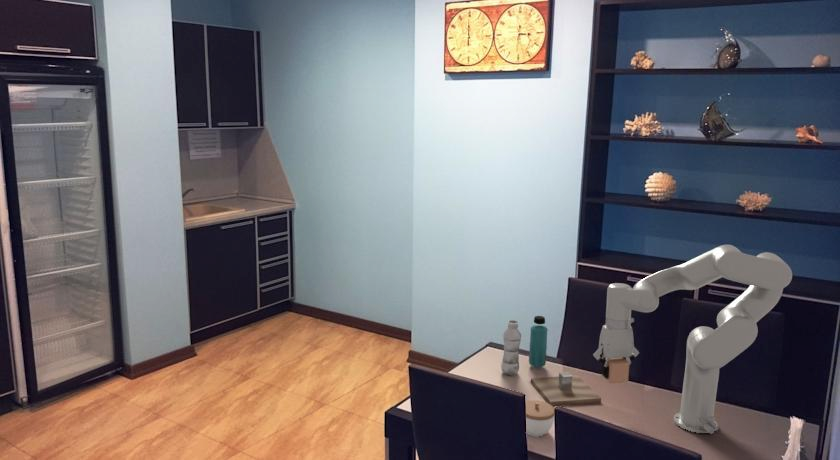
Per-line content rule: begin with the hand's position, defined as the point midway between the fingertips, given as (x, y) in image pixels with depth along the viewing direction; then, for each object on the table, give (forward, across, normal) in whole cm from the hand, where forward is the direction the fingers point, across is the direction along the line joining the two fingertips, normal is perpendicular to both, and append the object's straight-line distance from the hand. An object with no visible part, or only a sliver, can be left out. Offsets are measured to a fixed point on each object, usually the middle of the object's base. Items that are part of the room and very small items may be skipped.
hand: (614, 375), depth 199 cm
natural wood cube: (+1, 0, 0) cm, 1 cm away
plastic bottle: (+12, +24, -32) cm, 42 cm away
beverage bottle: (+12, +12, -36) cm, 40 cm away
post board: (+12, +10, -16) cm, 22 cm away
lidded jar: (+12, +30, +8) cm, 33 cm away
